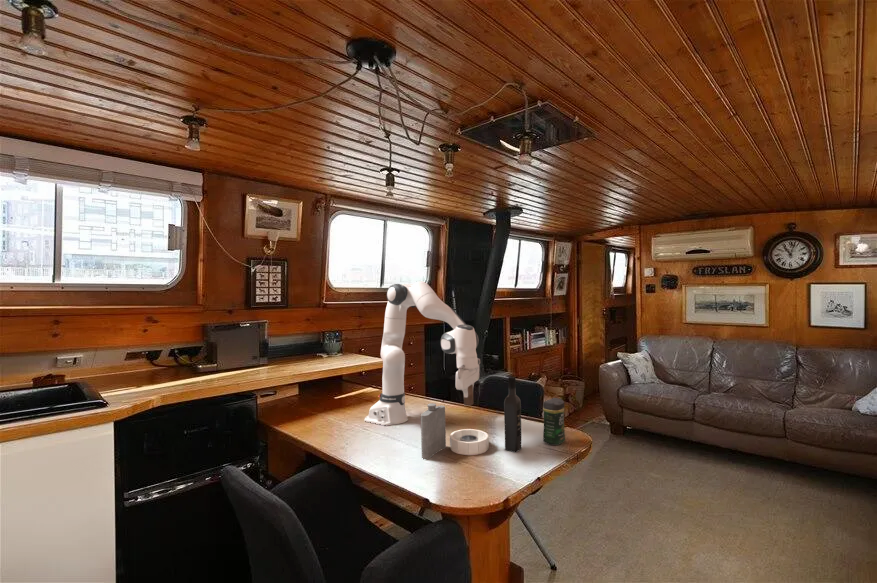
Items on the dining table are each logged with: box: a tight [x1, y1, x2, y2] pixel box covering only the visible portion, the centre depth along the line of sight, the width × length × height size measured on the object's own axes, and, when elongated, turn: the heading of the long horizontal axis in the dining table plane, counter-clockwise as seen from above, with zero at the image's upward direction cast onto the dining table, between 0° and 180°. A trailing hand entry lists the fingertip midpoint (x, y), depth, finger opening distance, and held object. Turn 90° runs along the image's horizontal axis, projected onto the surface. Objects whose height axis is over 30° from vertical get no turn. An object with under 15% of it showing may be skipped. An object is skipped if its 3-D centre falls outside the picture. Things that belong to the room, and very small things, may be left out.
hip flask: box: [420, 403, 447, 460], centre depth 174 cm, size 16×4×20 cm, turn 148°
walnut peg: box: [463, 385, 474, 406], centre depth 179 cm, size 4×4×8 cm
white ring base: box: [449, 428, 490, 456], centre depth 178 cm, size 16×16×5 cm
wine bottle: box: [503, 376, 522, 453], centre depth 175 cm, size 6×6×30 cm
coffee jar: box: [542, 397, 566, 446], centre depth 182 cm, size 10×8×19 cm
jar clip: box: [460, 435, 478, 442], centre depth 178 cm, size 7×7×3 cm
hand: (468, 395), depth 179 cm, fingers closed on walnut peg, 4 cm apart
